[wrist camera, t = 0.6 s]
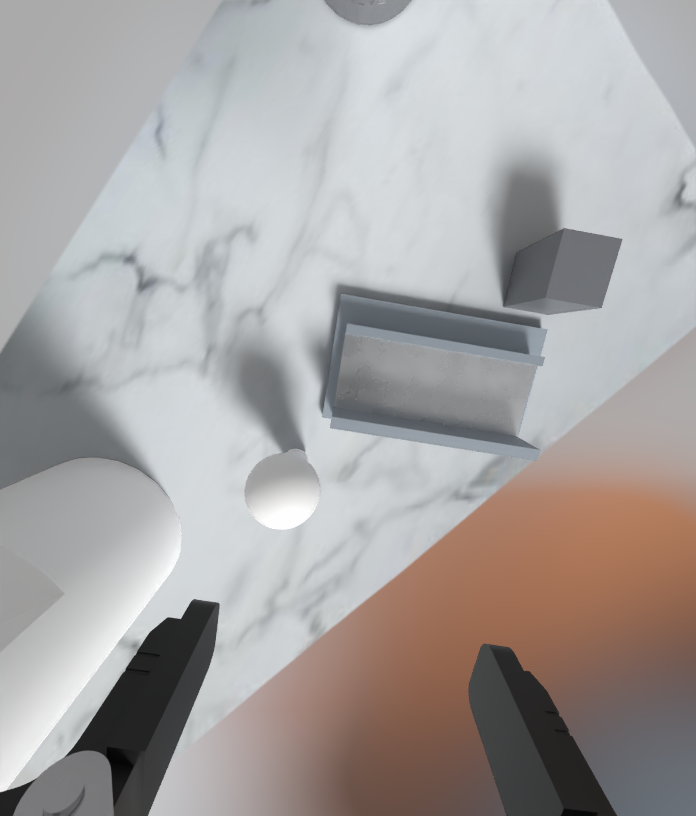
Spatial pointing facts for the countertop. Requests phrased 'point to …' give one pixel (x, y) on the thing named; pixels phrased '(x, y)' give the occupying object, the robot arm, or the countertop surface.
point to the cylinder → (72, 586)
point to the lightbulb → (282, 490)
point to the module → (563, 273)
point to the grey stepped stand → (440, 334)
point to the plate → (432, 385)
